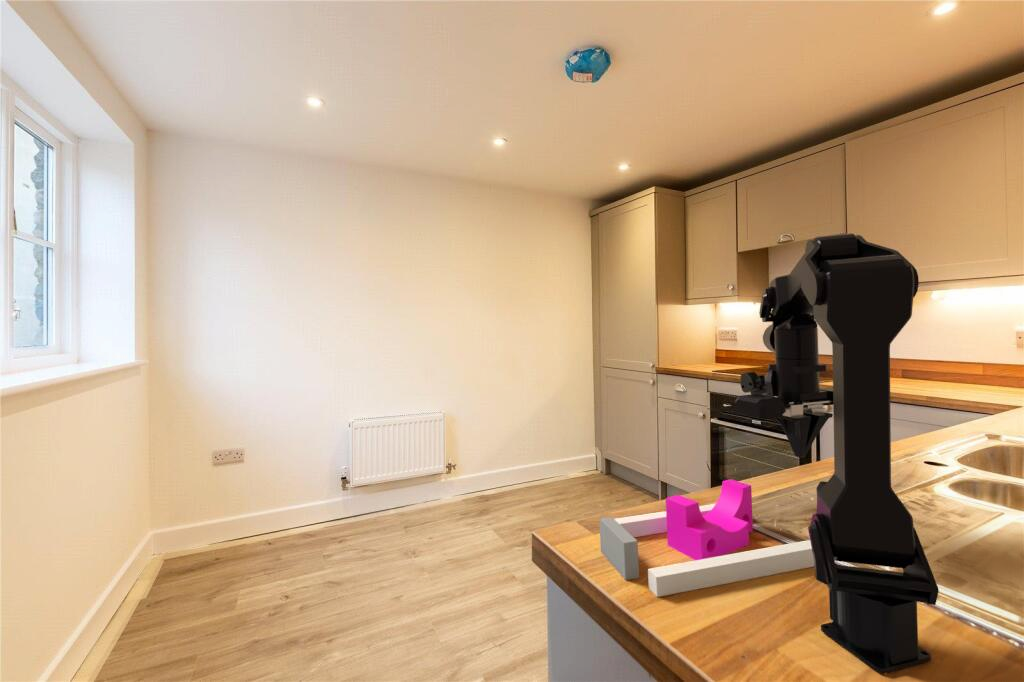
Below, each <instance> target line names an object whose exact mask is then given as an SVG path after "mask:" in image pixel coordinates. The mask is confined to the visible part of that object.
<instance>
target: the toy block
mask: <svg viewBox="0 0 1024 682" xmlns="http://www.w3.org/2000/svg"><path fill="white" fill-rule="evenodd" d="M752 499H753V494H752V485H751V484H748V483H744V482H741V481H739V480H734V479H732V478H730V479H726V480H723V481H722V483H721V490H720V494H719V496H718V499H717V501H716V502H715V504H716V505H715V506H714V507H713V509H712V510H711V511H710V512H709V513H707V514H706V515H704V516H702V514H701V512H700V509H699V506H700V504H699V502H698V501H696V500H692V499H691V498H687V497H685V496H683V495H680V494H676V495H672V496H669V497H666V498H665V507H666V508H665V511H666V517H667V532H666V533H667V534H666V535H667V539H666V541H667V546H668V547H669V548H672V549H673V550H676V551H677V552H679V553H681V554H683V555H685V556H687V557H689V558H690V559H692V560H693V561H695V560H701V559H706V558H712V557H717V556H723V555H728V554H730V553H732V552H734V551H737V550H739V549H741V548H743V547H746V546H748V545H750V537H749V533H750V532H752V531H754V523H753V500H752Z"/></svg>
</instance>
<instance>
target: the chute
mask: <svg viewBox="0 0 1024 682" xmlns="http://www.w3.org/2000/svg"><path fill="white" fill-rule="evenodd" d="M715 505H716V503H711V504H705V505H699V509H700V512H701V514H702V516H704V515H706V514H707V513H709V512H710V511H711V510H712V509H713V507H714V506H715ZM598 521H599V540H600V541H599V542H600V552H601V554H602V555H603V556H604V557H605V558H606V559H607V560H608V561H609V563H610V564H611V565H612V566H613V567H614V569H615V570H616V571H617V572H618V573H619V574H620V576H621V577H622V578H623V579H624V580H625V581H627V580H633V579H637V578H640V568H639V566H640V565H639V546H638V545H639V543H638V540H637V539H636V538H637V537H645V536H651V535H657V534H661V533H662V534H664V533H667V517H666V510H665V511H663V510H662V511H657V512H652V513H645V514H638V515H630V516H625V517H617V518H614V517H612V516H609V517H602V518H599V519H598ZM808 568H815V565H814V557H813V552H812V547H811V541H810V539H807V540H803V541H796V542H790V543H786V544H785V543H784V544H780V545H774V546H769V547H764V548H757V549H751V550H747V551H741V552H736V553H735V552H734V553H728V554H724V555H722V556H717V557H712V558H706V559H701V560H691V561H685V562H679V563H674V564H668V565H662V566H656V567H651V568H648V569H647V578H648V581H647V582H648V589H649V590H650V591H651V592H652V593H653V594H654V596H656V598H659V597H663V596H664V597H665V596H669V595H674V594H675V595H676V594H679V593H685V592H689V591H696V590H700V589H706V588H710V587H715V586H720V585H727V584H731V583H736V582H741V581H747V580H752V579H756V578H762V577H767V576H771V575H777V574H782V573H788V572H792V571H798V570H803V569H808Z"/></svg>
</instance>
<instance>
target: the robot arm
mask: <svg viewBox="0 0 1024 682" xmlns="http://www.w3.org/2000/svg"><path fill="white" fill-rule="evenodd" d="M919 284H920V283H919V275H918V270H917V269H916V267H915V266H914V265H913V264H912V263H911V262H910V261H909V260H908V259H907V258H905V257H904V255H902V254H901V252H899V251H898V250H896V249H894V248H890V247H886V246H883V245H879V244H876V243H873V242H869V241H867V240H866V239H865V238H864V237H863V236H862V235H861V234H854V233H840V234H832V235H830V234H829V235H822V236H815V237H814V238H813V239H808V240H807V242H806V243H805V250H804V253H803V254H802V256H801V258H800V259H799V260H798V261H797V263H796V265H794V267H793V269H792V270H791V271H790V273H789V274H785V275H781V276H777V277H775V278H773V279H772V280H771V281H770V283H769V286H768V287H765V289H764V293H763V294H761V300H760V308H759V312H758V313H759V318H760V319H761V321H762V323H771V324H770V325H768V326H767V327H766V329H765V330H764V333H763V334H762V343H763V345H764V347H766V348H767V350H769V351H770V352H772V353H774V357H775V358H774V359H775V361H774V362H775V363H769V366H768V367H767V368H768V369H767V373H766V374H763V375H762V374H761V375H760V374H759V375H758V373H756V371H748V372H744V373H741V374H740V388H741V390H742V392H743V393H746V394H743V395H739V396H738V397H737V398H736V400H735V401H734V406H735V409H734V410H735V413H736V414H740V415H744V416H748V417H751V418H756V419H759V420H760V419H762V420H763V419H764V420H768V419H769V420H770V419H775V420H776V421H777V422H778V424H780V426H781V428H782V429H783V431H784V434H785V436H786V438H787V440H788V443H789V445H790V447H791V448H790V449H791V450H792V452H793V454H794V456H795V457H796V458H805V457H806V455H807V454H808V452H809V450H810V449H811V447H812V445H813V444H814V442H815V440H816V438H817V437H818V435H819V433H820V432H821V430H822V429H823V428H824V426H825V424H826V423H827V421H828V420H829V419H830V418H831V419H832V418H833V451H834V452H833V454H834V455H833V457H834V459H833V461H834V464H833V465H834V470H833V474H832V476H831V477H830V478H829V480H828V481H824V480H823V481H819V483H818V485H816V490H815V491H816V513H813V514H812V515H811V521H810V523H809V524H810V525H809V526H808V528H807V530H808V535H809V540H810V541H811V547H812V552H813V557H814V565H815V566H814V578H815V579H816V581H817V582H820V583H822V584H824V585H826V586H827V588H828V597H829V619H830V620H831V621H832V622H831V621H830V622H827V623H822V624H821V625H820V630H821V632H822V633H824V634H825V636H828V637H829V638H831V639H832V640H834V642H836V643H837V644H839V645H840V646H841V647H843V648H844V649H846V650H847V651H848V652H850V653H851V654H853V656H855V657H856V658H858V659H859V660H861V661H862V662H863V663H865V664H866V665H868V666H869V667H870V668H872V669H873V670H874V671H876V672H878V673H882V674H886V673H890V672H895V671H898V670H901V669H906V668H909V667H913V666H916V665H920V664H924V663H927V662H931V661H932V654H931V653H930V652H929V651H927V650H926V649H924V648H922V647H921V646H919V633H918V630H919V629H918V603H923V604H927V605H931V606H936V604H937V601H938V596H939V591H940V590H939V587H938V584H937V582H936V579H935V576H934V574H933V572H932V568H931V566H930V563H929V561H928V558H927V555H926V553H925V551H924V549H923V546H922V543H921V540H920V537H919V535H918V533H917V531H916V528H915V526H914V518H913V516H912V514H911V512H910V511H909V510H908V508H906V506H905V504H904V503H903V502H902V500H901V499H900V498H899V496H898V495H897V494H896V493H895V491H894V490H893V488H892V451H891V449H892V448H891V447H892V446H891V445H892V444H891V442H892V441H891V438H892V437H891V433H892V432H891V431H892V430H891V428H892V427H891V426H892V425H891V344H892V342H893V341H894V340H895V339H896V337H897V336H898V335H899V334H900V333H901V331H902V330H903V328H904V327H905V326H906V325H907V323H908V322H909V321H910V319H911V318H912V317H913V316H912V315H913V306H914V298H915V297H916V295H917V293H918V289H919ZM818 326H819V328H820V329H821V331H823V333H824V334H825V336H826V337H827V338H828V339H829V341H830V342H831V344H832V345H831V346H832V348H831V349H832V387H829V386H828V387H822V388H821V387H820V386H821V384H820V372H826V371H827V364H824V363H823V364H822V363H820V361H819V359H820V357H819V356H820V355H819V332H818V331H819V330H818ZM819 363H820V364H819ZM747 393H750V394H747ZM832 405H833V406H832ZM825 406H832V408H833V413H832V412H826V411H825ZM836 562H842V563H844V562H845V563H853V564H861V565H868V566H878V567H887V568H897V569H902V571H903V572H902V571H896V570H895V571H892V570H886V569H885V570H884V569H876V568H868V567H867V568H866V567H859V566H851V565H843V564H842V565H840V564H836Z"/></svg>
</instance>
